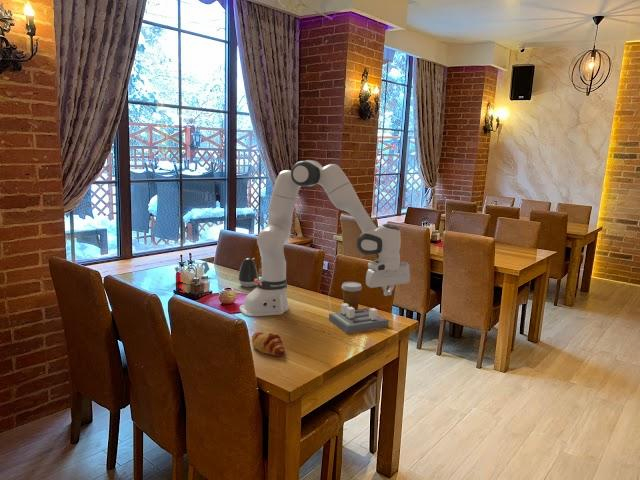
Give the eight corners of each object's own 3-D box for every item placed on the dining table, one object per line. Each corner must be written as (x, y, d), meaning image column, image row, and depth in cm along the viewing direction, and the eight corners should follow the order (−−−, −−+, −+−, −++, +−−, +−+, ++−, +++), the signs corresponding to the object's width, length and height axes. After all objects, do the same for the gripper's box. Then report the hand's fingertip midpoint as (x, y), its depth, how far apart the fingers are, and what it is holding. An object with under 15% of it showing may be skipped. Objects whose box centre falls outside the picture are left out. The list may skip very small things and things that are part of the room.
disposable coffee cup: (359, 313, 217) (360, 288, 214) (339, 311, 218) (339, 286, 216) (362, 306, 226) (363, 282, 223) (342, 304, 228) (343, 280, 225)
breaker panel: (346, 333, 193) (347, 326, 193) (328, 320, 207) (329, 313, 207) (388, 326, 202) (388, 319, 201) (368, 314, 216) (368, 307, 215)
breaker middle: (349, 318, 200) (349, 309, 200) (346, 316, 203) (346, 307, 202) (354, 317, 201) (354, 308, 201) (351, 315, 204) (351, 306, 203)
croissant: (247, 349, 184) (238, 334, 181) (267, 332, 189) (258, 317, 185) (277, 369, 168) (267, 352, 164) (297, 350, 172) (289, 334, 169)
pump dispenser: (262, 285, 255) (262, 257, 252) (249, 289, 247) (249, 261, 244) (247, 281, 260) (247, 254, 258) (234, 286, 252) (234, 258, 249)
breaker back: (343, 314, 205) (344, 305, 204) (340, 312, 207) (341, 303, 206) (348, 313, 206) (349, 305, 205) (345, 311, 208) (345, 303, 207)
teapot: (202, 284, 254) (201, 264, 252) (174, 282, 255) (173, 263, 253) (210, 276, 269) (209, 257, 267) (183, 275, 270) (183, 256, 268)
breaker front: (372, 320, 199) (372, 310, 199) (368, 317, 202) (369, 308, 201) (377, 319, 200) (377, 310, 200) (373, 317, 203) (374, 308, 202)
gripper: (405, 259, 207) (403, 290, 209) (364, 263, 198) (363, 295, 200) (413, 262, 201) (412, 294, 204) (372, 267, 192) (371, 300, 195)
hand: (387, 295), depth 202 cm, fingers closed
